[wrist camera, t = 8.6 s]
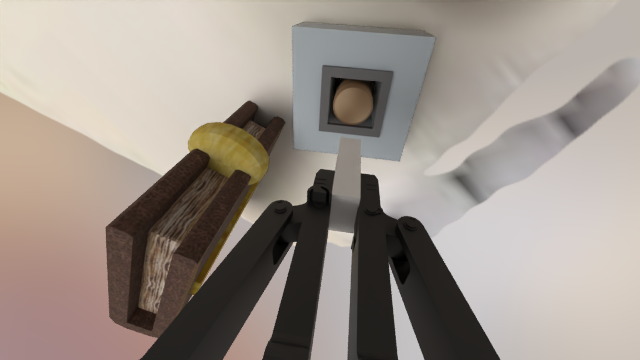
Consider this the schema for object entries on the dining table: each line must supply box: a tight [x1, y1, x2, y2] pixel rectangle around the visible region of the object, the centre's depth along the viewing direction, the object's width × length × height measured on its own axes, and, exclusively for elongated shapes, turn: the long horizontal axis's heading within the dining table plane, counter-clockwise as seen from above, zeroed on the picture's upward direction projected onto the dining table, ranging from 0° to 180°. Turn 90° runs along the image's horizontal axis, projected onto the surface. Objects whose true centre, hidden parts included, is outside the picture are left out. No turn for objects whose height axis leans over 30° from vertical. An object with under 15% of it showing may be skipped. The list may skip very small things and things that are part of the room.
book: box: [106, 101, 285, 338], centre depth 31 cm, size 22×8×25 cm, turn 151°
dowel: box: [333, 78, 373, 125], centre depth 30 cm, size 4×4×6 cm
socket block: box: [292, 22, 436, 161], centre depth 30 cm, size 14×14×7 cm
